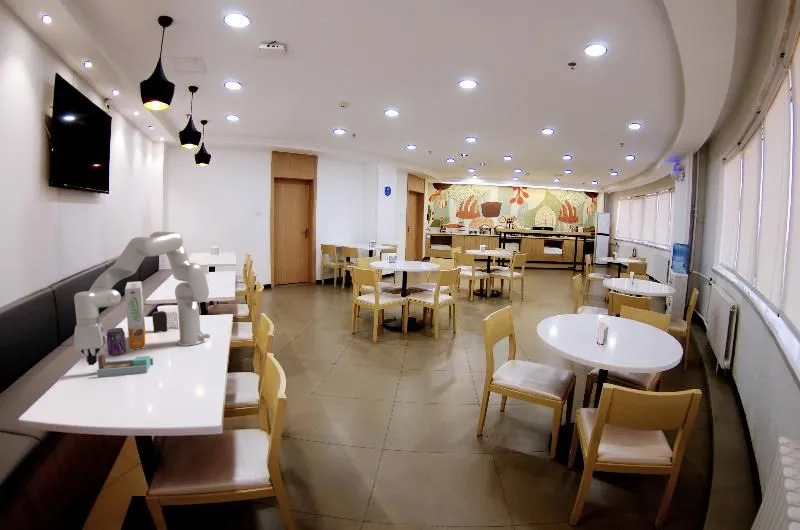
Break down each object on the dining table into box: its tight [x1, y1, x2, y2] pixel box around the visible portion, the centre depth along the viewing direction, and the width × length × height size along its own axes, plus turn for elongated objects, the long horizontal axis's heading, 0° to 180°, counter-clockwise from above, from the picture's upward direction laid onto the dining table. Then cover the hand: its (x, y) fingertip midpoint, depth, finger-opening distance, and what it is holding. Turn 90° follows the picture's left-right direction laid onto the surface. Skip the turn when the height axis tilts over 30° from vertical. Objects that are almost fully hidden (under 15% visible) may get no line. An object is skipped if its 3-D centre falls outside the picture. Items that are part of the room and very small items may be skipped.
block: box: [132, 355, 152, 371], centre depth 181 cm, size 5×5×5 cm
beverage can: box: [105, 327, 127, 357], centre depth 199 cm, size 7×7×12 cm
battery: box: [151, 310, 168, 333], centre depth 236 cm, size 7×4×11 cm, turn 119°
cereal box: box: [124, 280, 146, 350], centre depth 215 cm, size 22×6×30 cm, turn 30°
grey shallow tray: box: [96, 357, 154, 378], centre depth 180 cm, size 18×10×3 cm, turn 106°
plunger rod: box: [97, 353, 133, 369], centre depth 178 cm, size 12×3×7 cm, turn 106°
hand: (92, 364), depth 176 cm, fingers closed
